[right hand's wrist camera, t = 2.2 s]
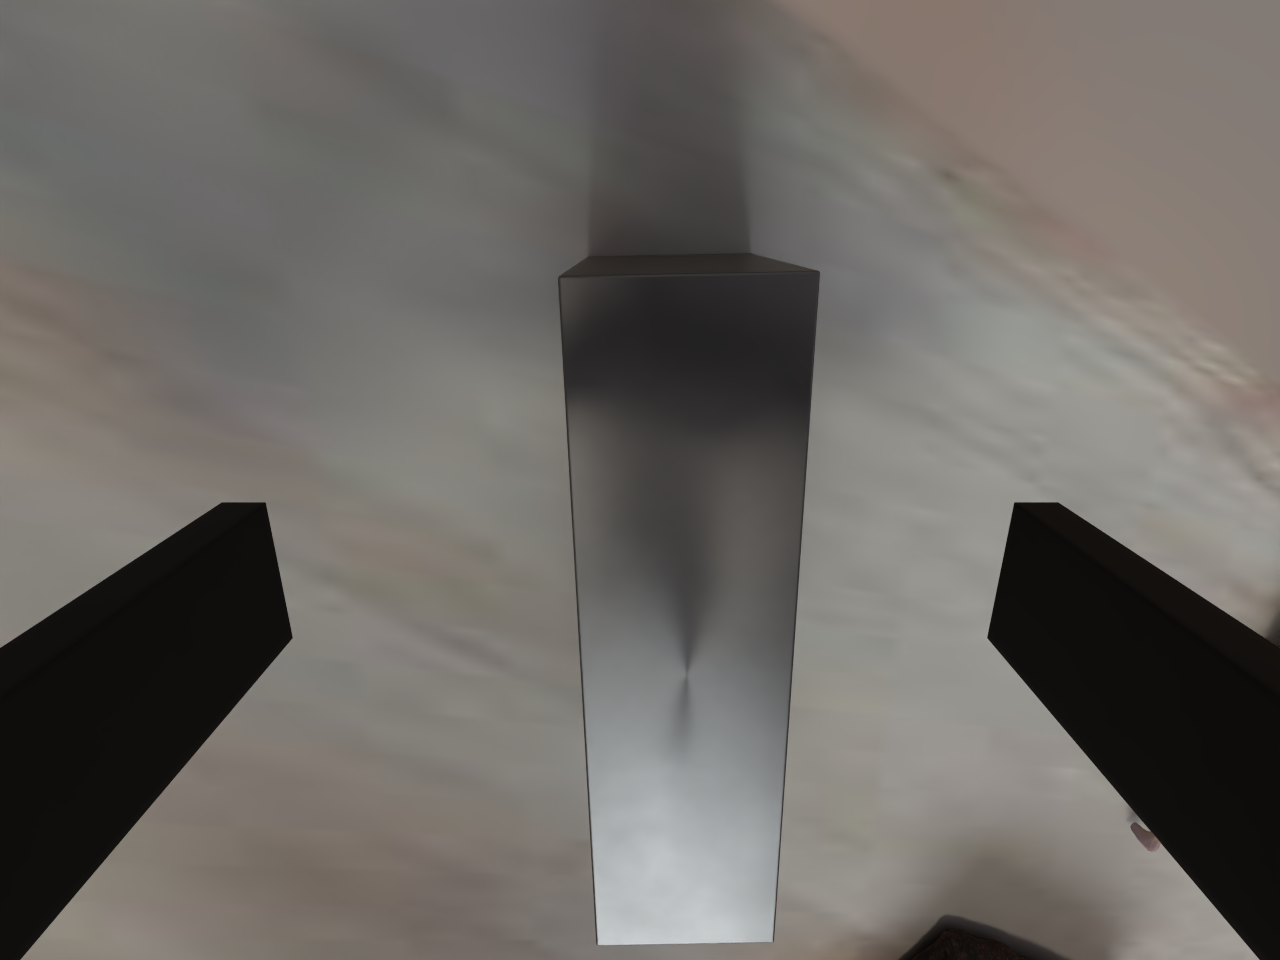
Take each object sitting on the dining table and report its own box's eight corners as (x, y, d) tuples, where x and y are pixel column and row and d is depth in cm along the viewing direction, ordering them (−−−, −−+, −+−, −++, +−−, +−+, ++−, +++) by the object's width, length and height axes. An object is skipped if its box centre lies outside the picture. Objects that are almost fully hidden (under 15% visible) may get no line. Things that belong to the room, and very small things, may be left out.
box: (587, 256, 26) (557, 276, 16) (751, 253, 26) (820, 270, 16) (607, 738, 34) (596, 946, 24) (734, 735, 34) (774, 943, 24)
